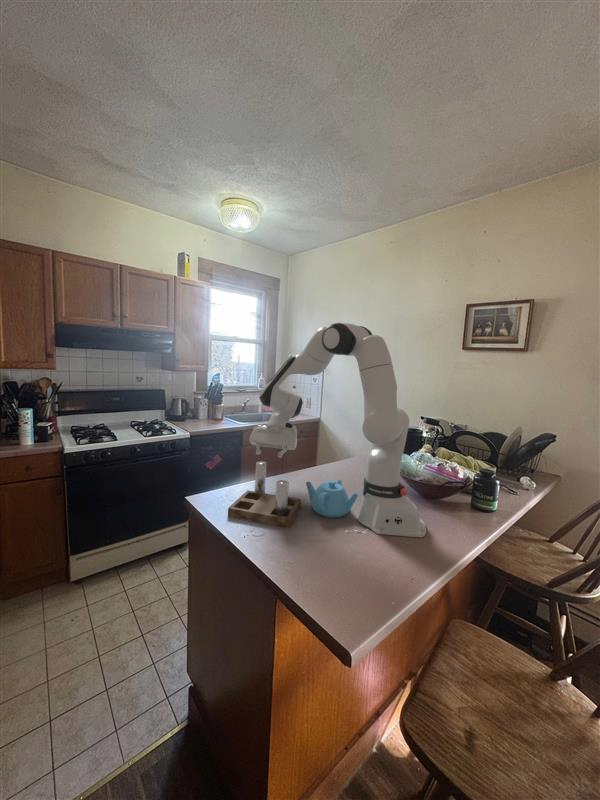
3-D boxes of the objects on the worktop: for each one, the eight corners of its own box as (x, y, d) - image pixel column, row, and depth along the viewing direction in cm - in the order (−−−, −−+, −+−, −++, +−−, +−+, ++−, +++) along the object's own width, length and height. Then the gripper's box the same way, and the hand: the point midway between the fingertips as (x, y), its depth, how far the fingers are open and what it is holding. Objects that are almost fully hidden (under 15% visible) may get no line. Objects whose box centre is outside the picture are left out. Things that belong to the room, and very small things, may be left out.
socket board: (300, 507, 117) (301, 499, 116) (288, 528, 101) (289, 519, 101) (247, 497, 122) (247, 490, 121) (227, 516, 106) (228, 508, 106)
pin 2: (287, 518, 108) (290, 481, 106) (284, 524, 104) (286, 485, 102) (276, 516, 109) (278, 479, 107) (272, 522, 105) (274, 483, 103)
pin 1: (266, 494, 126) (268, 462, 125) (262, 498, 122) (264, 465, 121) (256, 492, 127) (258, 460, 126) (252, 496, 123) (254, 463, 122)
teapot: (303, 502, 121) (304, 475, 120) (339, 499, 126) (341, 473, 125) (317, 522, 107) (319, 491, 106) (357, 518, 111) (360, 488, 110)
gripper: (253, 420, 139) (242, 448, 131) (298, 425, 134) (291, 454, 126) (256, 428, 144) (246, 455, 136) (300, 434, 139) (293, 462, 131)
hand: (268, 455), depth 131 cm, fingers open, 8 cm apart
